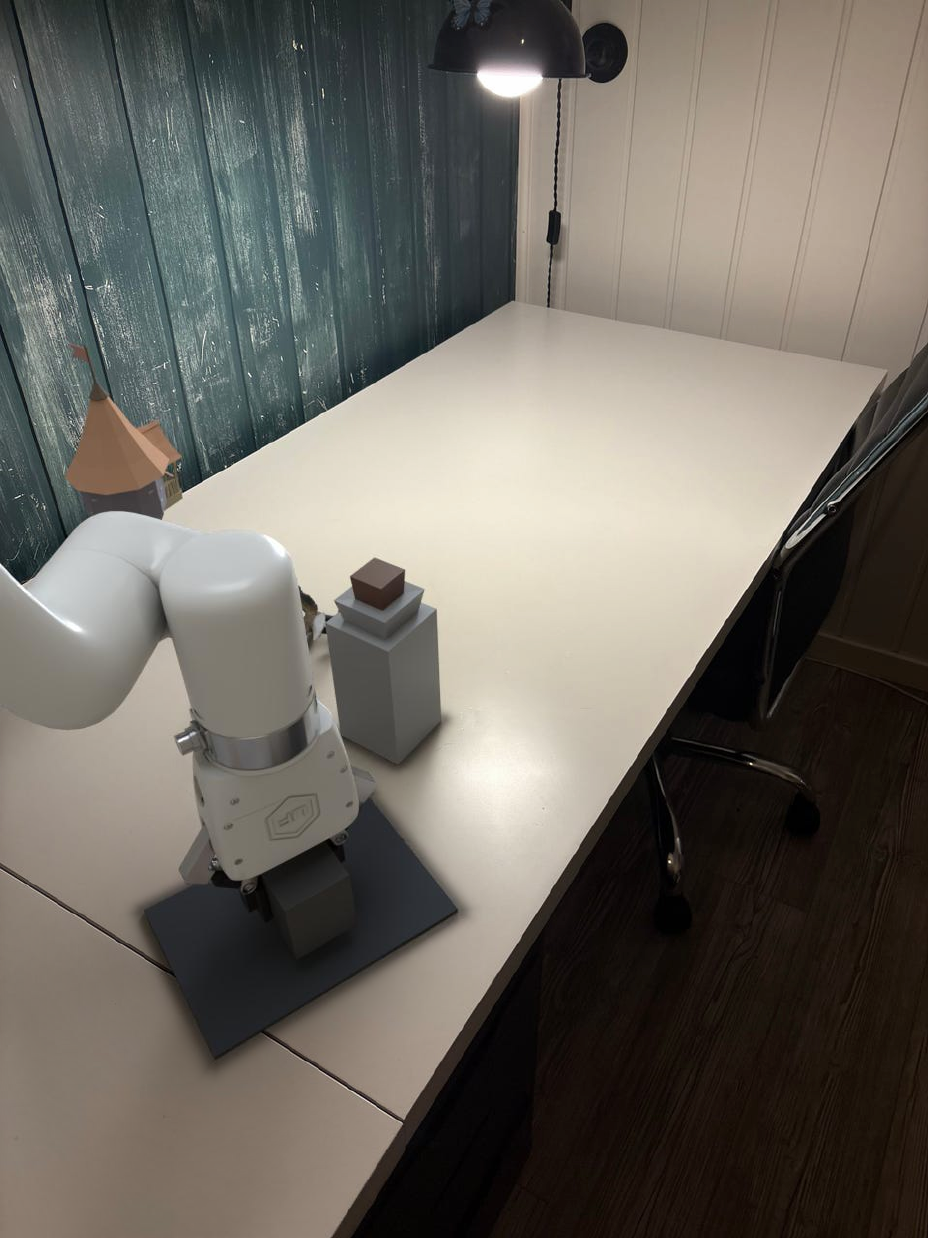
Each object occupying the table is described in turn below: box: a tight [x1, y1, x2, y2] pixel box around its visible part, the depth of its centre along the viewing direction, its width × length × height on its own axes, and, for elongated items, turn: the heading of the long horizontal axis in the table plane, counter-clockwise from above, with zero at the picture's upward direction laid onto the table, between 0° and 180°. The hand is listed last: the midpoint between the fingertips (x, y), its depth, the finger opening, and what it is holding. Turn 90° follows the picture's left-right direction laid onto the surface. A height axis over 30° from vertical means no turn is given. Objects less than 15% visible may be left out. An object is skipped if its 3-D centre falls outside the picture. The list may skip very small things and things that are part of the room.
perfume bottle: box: [325, 557, 442, 766], centre depth 81 cm, size 7×7×18 cm
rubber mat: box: [143, 796, 459, 1060], centre depth 71 cm, size 20×14×1 cm
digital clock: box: [259, 841, 357, 960], centre depth 68 cm, size 10×5×6 cm, turn 35°
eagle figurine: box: [298, 584, 339, 642], centre depth 96 cm, size 8×7×9 cm
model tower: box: [64, 342, 184, 520], centre depth 93 cm, size 10×11×30 cm
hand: (295, 886), depth 69 cm, fingers closed on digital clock, 5 cm apart
